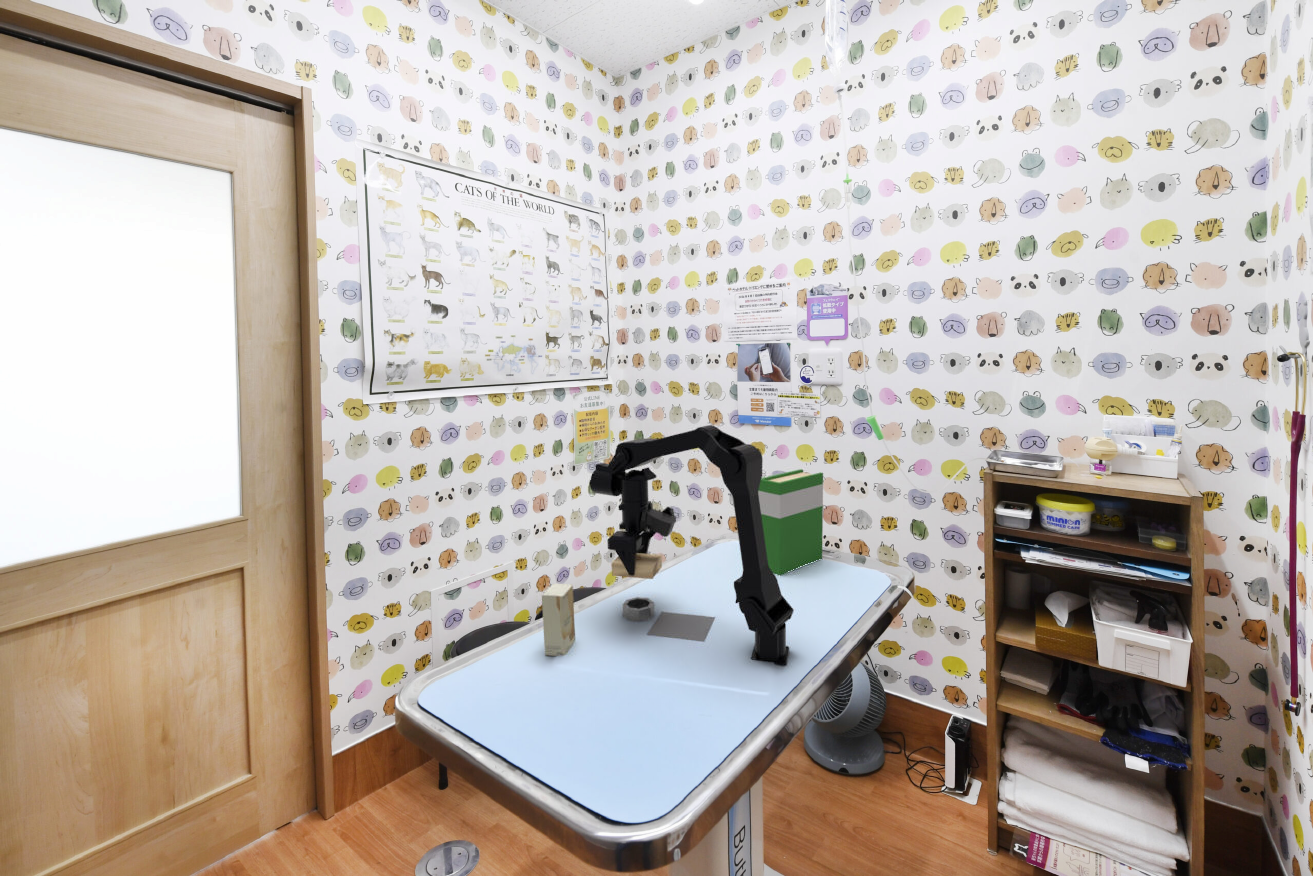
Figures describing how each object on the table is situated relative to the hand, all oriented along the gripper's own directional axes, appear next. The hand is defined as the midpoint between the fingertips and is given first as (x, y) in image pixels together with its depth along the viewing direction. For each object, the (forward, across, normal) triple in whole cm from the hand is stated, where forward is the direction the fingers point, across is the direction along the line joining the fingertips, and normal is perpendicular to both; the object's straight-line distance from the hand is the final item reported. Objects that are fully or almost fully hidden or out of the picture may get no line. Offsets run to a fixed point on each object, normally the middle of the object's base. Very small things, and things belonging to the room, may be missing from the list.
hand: (637, 569), depth 128 cm
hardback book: (+11, +40, -30) cm, 51 cm away
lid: (0, 0, 0) cm, 0 cm away
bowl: (+11, 0, 0) cm, 11 cm away
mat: (+11, -3, -10) cm, 15 cm away
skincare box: (+11, -17, +10) cm, 23 cm away
